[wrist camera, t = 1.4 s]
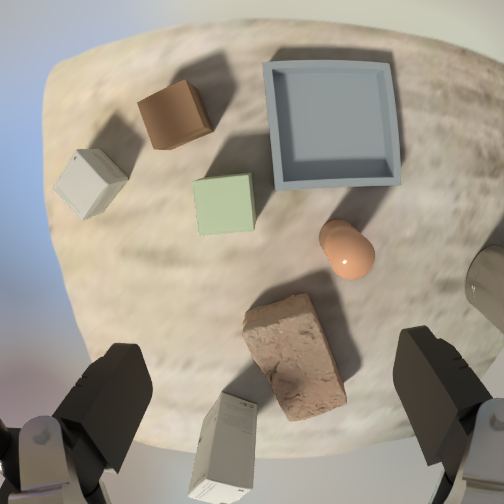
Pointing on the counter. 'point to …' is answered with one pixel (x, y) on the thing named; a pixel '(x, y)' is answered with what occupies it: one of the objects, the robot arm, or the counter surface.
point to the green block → (225, 204)
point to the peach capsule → (346, 249)
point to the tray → (332, 124)
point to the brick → (295, 357)
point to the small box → (89, 183)
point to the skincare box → (225, 452)
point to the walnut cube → (175, 116)
